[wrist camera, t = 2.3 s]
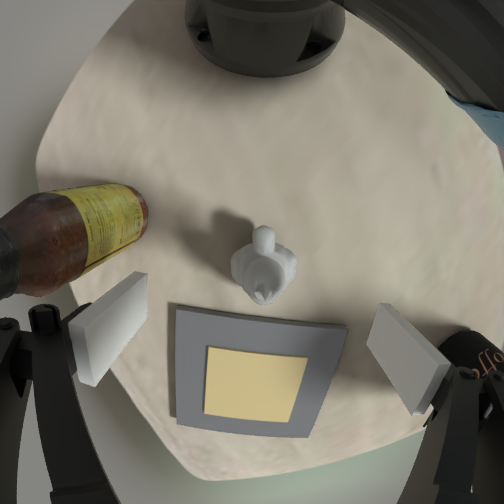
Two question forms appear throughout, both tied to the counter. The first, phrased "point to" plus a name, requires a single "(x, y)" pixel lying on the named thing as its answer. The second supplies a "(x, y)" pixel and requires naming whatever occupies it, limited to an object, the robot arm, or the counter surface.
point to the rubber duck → (263, 267)
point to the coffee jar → (473, 353)
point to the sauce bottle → (66, 236)
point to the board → (252, 372)
